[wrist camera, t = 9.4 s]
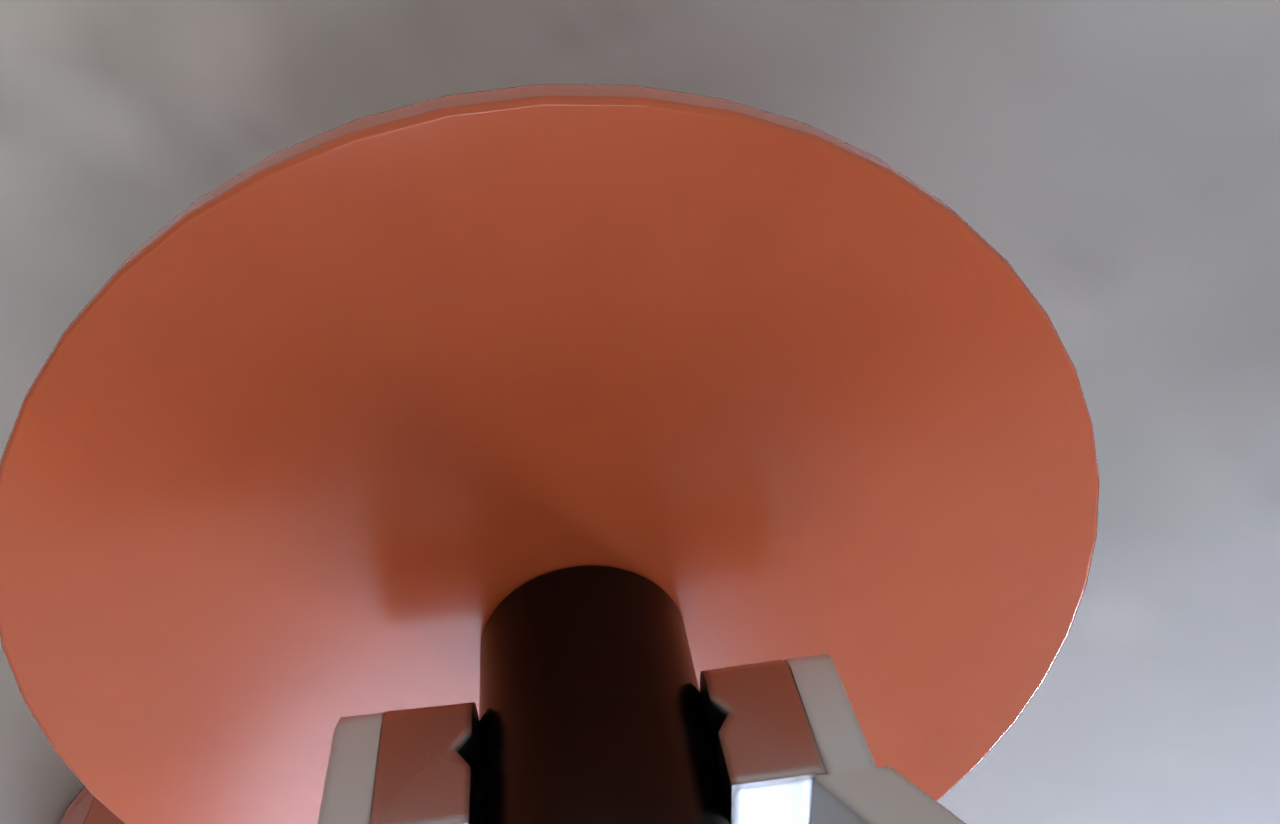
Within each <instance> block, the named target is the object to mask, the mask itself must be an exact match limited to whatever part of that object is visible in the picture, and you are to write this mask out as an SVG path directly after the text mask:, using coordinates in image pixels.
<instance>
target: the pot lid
mask: <svg viewBox="0 0 1280 824" xmlns="http://www.w3.org/2000/svg"><path fill="white" fill-rule="evenodd" d="M1098 498H1099V475H1098V467H1097V459H1096V451H1095V442H1094V434H1093V426H1092V422H1091V419H1090V415H1089V412H1088V409H1087V405H1086V402H1085V399H1084V396H1083V392H1082V389H1081V386H1080V383H1079V379H1078V376H1077V373H1076V369H1075V367H1074V365H1073V363H1072V361H1071V359H1070V357H1069V355H1068V353H1067V351H1066V350H1065V348H1064V346H1063V344H1062V342H1061V340H1060V338H1059V336H1058V334H1057V332H1056V330H1055V328H1054V326H1053V324H1052V322H1051V320H1050V318H1049V316H1048V314H1047V313H1046V312H1045V310H1044V309H1043V308H1042V306H1041V305H1040V304H1039V302H1038V301H1037V300H1036V298H1035V297H1034V296H1033V294H1032V293H1031V292H1030V290H1029V289H1028V288H1027V287H1026V285H1025V284H1024V283H1023V281H1022V280H1021V279H1020V277H1019V276H1018V275H1017V273H1016V272H1015V271H1014V269H1013V268H1012V267H1011V265H1010V264H1009V263H1008V262H1007V261H1006V260H1005V259H1004V258H1003V257H1002V256H1001V255H1000V254H999V253H998V252H997V251H996V250H995V249H994V248H993V247H991V246H990V245H989V244H988V243H987V242H986V241H985V240H984V239H983V238H982V237H981V236H980V235H979V234H978V233H976V232H975V231H974V230H973V229H972V228H971V227H970V226H969V225H968V224H967V223H966V222H965V221H964V220H963V219H961V218H960V217H959V216H958V215H957V214H956V213H955V212H954V211H953V210H951V209H950V208H949V207H948V206H947V205H946V204H944V203H943V202H942V201H941V200H940V199H939V198H937V197H936V196H934V195H933V194H931V193H930V192H928V191H927V190H925V189H924V188H922V187H921V186H919V185H918V184H916V183H915V182H913V181H912V180H910V179H909V178H907V177H906V176H904V175H903V174H901V173H900V172H898V171H897V170H895V169H894V168H892V167H891V166H889V165H888V164H886V163H885V162H883V161H882V160H880V159H879V158H877V157H875V156H873V155H871V154H869V153H867V152H865V151H863V150H860V149H858V148H856V147H854V146H852V145H850V144H848V143H845V142H843V141H841V140H839V139H837V138H835V137H833V136H830V135H828V134H826V133H824V132H822V131H820V130H818V129H815V128H813V127H811V126H809V125H807V124H805V123H802V122H798V121H795V120H792V119H788V118H785V117H782V116H778V115H775V114H772V113H768V112H765V111H762V110H758V109H755V108H752V107H748V106H745V105H742V104H738V103H735V102H732V101H728V100H725V99H721V98H714V97H708V96H701V95H694V94H688V93H681V92H675V91H668V90H661V89H655V88H648V87H642V86H635V85H574V84H538V85H530V86H521V87H513V88H505V89H496V90H488V91H480V92H472V93H463V94H455V95H448V96H444V97H440V98H436V99H432V100H428V101H425V102H421V103H417V104H413V105H409V106H406V107H402V108H398V109H394V110H390V111H386V112H383V113H379V114H375V115H371V116H367V117H363V118H360V119H356V120H354V121H352V122H349V123H347V124H344V125H342V126H340V127H337V128H335V129H332V130H330V131H328V132H325V133H323V134H320V135H318V136H316V137H313V138H311V139H308V140H306V141H304V142H301V143H299V144H296V145H294V146H292V147H289V148H287V149H284V150H282V151H279V152H277V153H275V154H272V155H271V156H269V157H267V158H266V159H264V160H262V161H261V162H259V163H257V164H256V165H254V166H252V167H251V168H249V169H247V170H246V171H244V172H242V173H241V174H239V175H237V176H236V177H234V178H232V179H231V180H229V181H227V182H226V183H224V184H222V185H221V186H219V187H217V188H215V189H214V190H212V191H210V192H209V193H207V194H205V195H204V196H202V197H200V198H199V199H197V200H196V201H195V202H193V203H192V204H191V205H190V206H189V207H187V208H186V209H185V210H184V211H183V212H181V213H180V214H179V215H178V216H177V217H175V218H174V219H173V220H172V221H170V222H169V223H168V224H167V225H166V226H164V227H163V228H162V229H161V230H160V231H158V232H157V233H156V234H155V235H153V236H152V237H151V238H150V239H149V240H147V241H146V242H145V243H144V244H143V245H141V246H140V247H139V248H138V249H136V250H135V251H134V252H133V253H132V254H131V255H130V256H129V257H128V259H127V260H126V261H125V262H124V263H123V264H122V265H121V267H120V268H119V269H118V270H117V271H116V272H115V273H114V275H113V276H112V277H111V278H110V279H109V280H108V281H107V283H106V284H105V285H104V286H103V287H102V288H101V289H100V291H99V292H98V293H97V294H96V295H95V296H94V297H93V298H92V300H91V301H90V302H89V303H88V304H87V305H86V306H85V308H84V309H83V310H82V311H81V312H80V313H79V315H78V316H77V317H76V318H75V319H74V321H73V322H72V323H71V324H70V325H69V327H68V328H67V329H66V330H65V331H64V333H63V335H62V336H61V338H60V340H59V341H58V343H57V344H56V346H55V348H54V349H53V351H52V353H51V354H50V356H49V358H48V359H47V361H46V363H45V364H44V366H43V367H42V369H41V371H40V372H39V374H38V376H37V377H36V379H35V381H34V382H33V384H32V386H31V387H30V389H29V390H28V392H27V394H26V395H25V398H24V401H23V403H22V406H21V408H20V411H19V414H18V416H17V419H16V422H15V424H14V427H13V429H12V432H11V435H10V437H9V440H8V443H7V445H6V448H5V450H4V453H3V456H2V458H1V461H0V638H1V642H2V647H3V650H4V653H5V655H6V658H7V660H8V663H9V665H10V667H11V670H12V672H13V675H14V677H15V680H16V682H17V685H18V687H19V690H20V692H21V694H22V697H23V699H24V702H25V703H26V705H27V707H28V708H29V710H30V712H31V713H32V715H33V716H34V718H35V720H36V721H37V723H38V725H39V726H40V728H41V729H42V731H43V733H44V734H45V736H46V738H47V739H48V741H49V742H50V744H51V746H52V747H53V749H54V750H55V752H56V753H57V754H58V755H59V756H60V757H61V759H62V760H63V761H64V762H65V763H66V765H67V766H68V767H69V768H70V769H71V770H72V772H73V773H74V774H75V775H76V776H77V778H78V779H79V780H80V781H81V782H82V783H83V785H84V786H85V787H86V788H87V789H88V790H89V792H90V793H91V794H92V795H93V796H95V797H96V798H97V799H98V800H99V801H100V802H101V803H102V804H103V805H105V806H106V807H107V808H108V809H109V810H110V811H111V812H112V813H114V814H115V815H116V816H117V817H118V818H119V819H120V820H121V821H122V822H124V823H125V824H318V818H319V812H320V807H321V801H322V796H323V790H324V784H325V779H326V773H327V767H328V762H329V756H330V750H331V745H332V739H333V733H334V729H335V727H336V725H337V723H338V721H339V719H340V717H347V716H356V715H365V714H374V713H383V712H386V711H395V710H405V709H414V708H424V707H433V706H442V705H452V704H461V703H471V702H474V703H475V704H476V707H477V712H478V716H479V720H480V737H479V773H478V803H479V807H478V824H731V822H730V818H729V814H728V809H727V805H726V801H725V797H724V793H723V788H722V784H721V780H720V776H719V772H718V766H717V761H716V757H715V753H714V749H713V745H712V741H711V737H710V733H709V729H708V725H707V721H706V716H705V712H704V708H703V704H702V699H701V695H700V674H701V671H705V670H712V669H719V668H725V667H732V666H739V665H746V664H753V663H760V662H767V661H774V660H781V659H782V660H783V661H785V659H791V658H798V657H806V656H813V655H820V654H827V655H828V656H830V657H831V658H832V659H833V661H834V664H835V666H836V669H837V671H838V674H839V676H840V678H841V681H842V683H843V686H844V688H845V691H846V693H847V696H848V698H849V700H850V703H851V705H852V708H853V710H854V713H855V715H856V718H857V720H858V722H859V725H860V727H861V730H862V732H863V735H864V737H865V740H866V742H867V744H868V747H869V749H870V752H871V754H872V757H873V759H874V762H875V764H876V766H877V767H883V766H891V767H892V768H893V769H894V770H896V771H897V772H898V773H900V774H901V775H902V776H904V777H905V778H906V779H908V780H909V781H910V782H912V783H913V784H914V785H916V786H917V787H918V788H919V789H921V790H922V791H923V792H925V793H926V794H927V795H929V796H930V797H931V798H933V799H934V800H935V801H938V800H939V799H940V798H941V797H943V796H944V795H945V794H946V793H947V792H948V791H949V790H950V789H951V788H952V787H954V786H955V785H956V784H957V783H958V782H959V781H960V780H961V779H962V778H963V777H964V776H965V775H966V774H968V773H969V772H970V771H971V770H972V769H973V768H974V767H975V766H976V765H977V764H978V763H979V762H980V761H981V760H982V759H983V758H984V757H985V756H986V755H987V754H988V752H989V751H990V750H991V749H992V748H993V747H994V746H995V744H996V743H997V742H998V741H999V740H1000V739H1001V738H1002V736H1003V735H1004V734H1005V733H1006V732H1007V731H1008V730H1009V728H1010V727H1011V726H1012V725H1013V724H1014V723H1015V721H1016V720H1017V719H1018V717H1019V716H1020V714H1021V713H1022V711H1023V710H1024V708H1025V707H1026V706H1027V704H1028V703H1029V701H1030V700H1031V698H1032V697H1033V696H1034V694H1035V693H1036V691H1037V690H1038V688H1039V687H1040V685H1041V684H1042V683H1043V681H1044V680H1045V678H1046V676H1047V674H1048V672H1049V670H1050V668H1051V666H1052V664H1053V663H1054V661H1055V659H1056V657H1057V655H1058V653H1059V651H1060V649H1061V647H1062V646H1063V644H1064V642H1065V640H1066V638H1067V636H1068V634H1069V631H1070V628H1071V626H1072V623H1073V620H1074V618H1075V615H1076V612H1077V609H1078V607H1079V604H1080V601H1081V599H1082V596H1083V593H1084V590H1085V588H1086V584H1087V579H1088V574H1089V570H1090V565H1091V560H1092V555H1093V550H1094V546H1095V541H1096V536H1097V519H1098Z"/></svg>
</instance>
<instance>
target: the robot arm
mask: <svg viewBox="0 0 1280 824" xmlns="http://www.w3.org/2000/svg"><path fill="white" fill-rule="evenodd" d="M700 695H701V699H702V704H703V708H704V712H705V716H706V721H707V725H708V729H709V733H710V737H711V741H712V745H713V749H714V753H715V757H716V761H717V766H718V772H719V776H720V780H721V784H722V788H723V793H724V797H725V801H726V805H727V809H728V814H729V818H730V822H731V824H966V823H964V822H963V821H962V820H960V819H959V818H958V817H956V816H955V815H954V814H952V813H951V812H950V811H948V810H947V809H946V808H945V807H943V806H942V805H941V804H939V803H938V802H937V801H935V800H934V799H933V798H931V797H930V796H929V795H927V794H926V793H925V792H923V791H922V790H921V789H919V788H918V787H917V786H916V785H914V784H913V783H912V782H910V781H909V780H908V779H906V778H905V777H904V776H902V775H901V774H900V773H898V772H897V771H896V770H894V769H893V768H892V767H891V766H883V767H877V766H876V764H875V762H874V759H873V757H872V754H871V752H870V749H869V747H868V744H867V742H866V740H865V737H864V735H863V732H862V730H861V727H860V725H859V722H858V720H857V718H856V715H855V713H854V710H853V708H852V705H851V703H850V700H849V698H848V696H847V693H846V691H845V688H844V686H843V683H842V681H841V678H840V676H839V674H838V671H837V669H836V666H835V664H834V661H833V659H832V658H831V657H830V656H828V655H827V654H820V655H813V656H806V657H798V658H791V659H785V661H783V660H782V659H781V660H774V661H767V662H760V663H753V664H746V665H739V666H732V667H725V668H719V669H712V670H705V671H701V674H700ZM479 737H480V720H479V716H478V712H477V707H476V704H475V703H474V702H471V703H461V704H452V705H442V706H433V707H424V708H414V709H405V710H395V711H386V712H383V713H374V714H365V715H356V716H347V717H340V719H339V721H338V723H337V725H336V727H335V729H334V733H333V739H332V745H331V750H330V756H329V762H328V767H327V773H326V779H325V784H324V790H323V796H322V801H321V807H320V812H319V818H318V824H478V807H479V803H478V773H479Z"/></svg>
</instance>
